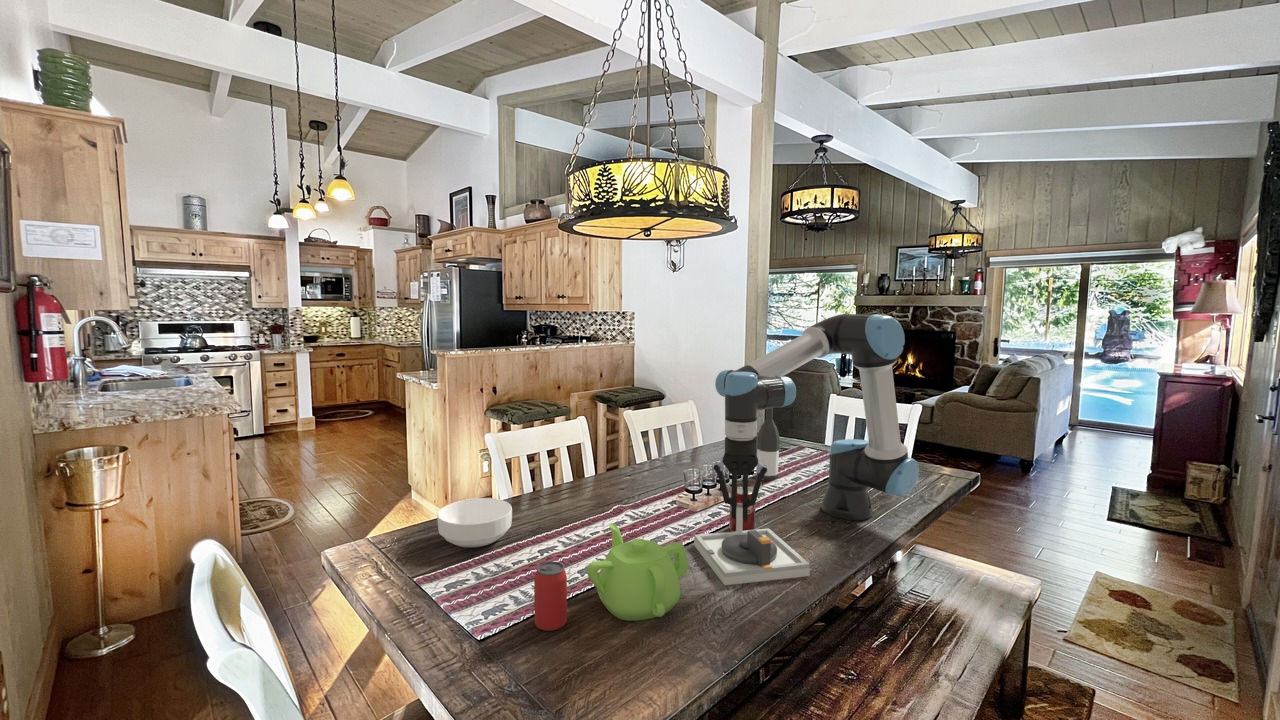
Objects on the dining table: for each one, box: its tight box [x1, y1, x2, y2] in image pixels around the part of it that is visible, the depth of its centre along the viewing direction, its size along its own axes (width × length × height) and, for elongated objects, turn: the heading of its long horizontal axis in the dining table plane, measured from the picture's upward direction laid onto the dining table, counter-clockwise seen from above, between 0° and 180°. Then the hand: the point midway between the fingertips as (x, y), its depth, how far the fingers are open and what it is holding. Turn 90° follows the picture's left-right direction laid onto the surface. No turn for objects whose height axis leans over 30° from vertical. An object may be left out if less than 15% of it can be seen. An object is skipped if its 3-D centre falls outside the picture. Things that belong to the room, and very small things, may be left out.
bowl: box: [436, 497, 513, 548], centre depth 155 cm, size 20×20×8 cm
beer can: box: [533, 561, 568, 632], centre depth 115 cm, size 7×7×12 cm
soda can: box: [728, 486, 757, 532], centre depth 164 cm, size 7×7×12 cm
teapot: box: [586, 522, 690, 622], centre depth 123 cm, size 19×20×14 cm
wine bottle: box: [756, 408, 780, 481], centre depth 213 cm, size 8×8×30 cm
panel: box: [693, 528, 811, 586], centre depth 145 cm, size 22×22×3 cm
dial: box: [722, 529, 777, 567], centre depth 144 cm, size 16×14×7 cm
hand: (739, 531), depth 137 cm, fingers closed
